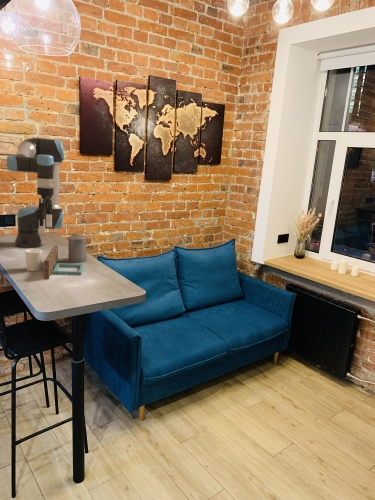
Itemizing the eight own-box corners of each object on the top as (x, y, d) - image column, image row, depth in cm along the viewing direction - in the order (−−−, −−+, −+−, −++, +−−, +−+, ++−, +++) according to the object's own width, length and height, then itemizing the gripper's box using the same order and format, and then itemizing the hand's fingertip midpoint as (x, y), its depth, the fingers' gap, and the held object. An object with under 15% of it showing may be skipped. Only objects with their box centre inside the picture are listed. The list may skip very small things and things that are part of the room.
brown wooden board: (48, 279, 177) (48, 261, 174) (44, 278, 176) (44, 260, 174) (57, 261, 203) (57, 246, 201) (54, 261, 203) (54, 245, 200)
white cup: (45, 268, 190) (45, 250, 188) (34, 272, 183) (34, 253, 181) (33, 265, 193) (32, 247, 190) (22, 269, 186) (21, 250, 183)
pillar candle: (73, 256, 215) (73, 231, 211) (89, 259, 213) (89, 233, 209) (65, 261, 205) (64, 235, 201) (81, 263, 204) (81, 237, 200)
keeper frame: (81, 274, 186) (81, 272, 186) (53, 274, 184) (53, 271, 183) (83, 266, 199) (83, 264, 199) (57, 265, 196) (57, 263, 196)
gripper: (46, 190, 170) (46, 235, 175) (59, 185, 194) (58, 225, 199) (29, 188, 169) (30, 234, 174) (44, 184, 193) (44, 224, 198)
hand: (45, 229), depth 187 cm, fingers open, 13 cm apart
